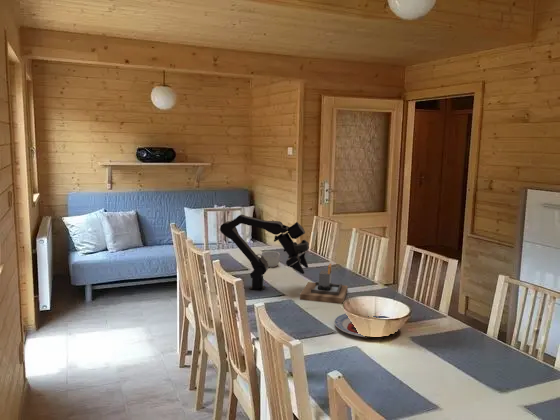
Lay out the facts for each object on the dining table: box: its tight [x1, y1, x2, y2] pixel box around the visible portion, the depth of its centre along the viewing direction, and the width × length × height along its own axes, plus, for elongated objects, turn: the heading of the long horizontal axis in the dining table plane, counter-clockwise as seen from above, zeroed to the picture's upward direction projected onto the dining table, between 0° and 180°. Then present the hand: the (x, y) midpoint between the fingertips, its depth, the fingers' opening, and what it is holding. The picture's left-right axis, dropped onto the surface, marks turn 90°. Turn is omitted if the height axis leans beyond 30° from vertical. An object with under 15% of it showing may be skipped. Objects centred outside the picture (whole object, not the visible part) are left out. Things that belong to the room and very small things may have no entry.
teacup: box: [256, 250, 281, 268], centre depth 281 cm, size 14×11×8 cm
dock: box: [299, 281, 349, 304], centre depth 231 cm, size 20×20×4 cm
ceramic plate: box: [334, 313, 390, 338], centre depth 191 cm, size 26×26×3 cm
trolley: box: [318, 263, 333, 291], centre depth 230 cm, size 6×6×12 cm
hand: (305, 270), depth 234 cm, fingers open, 9 cm apart
